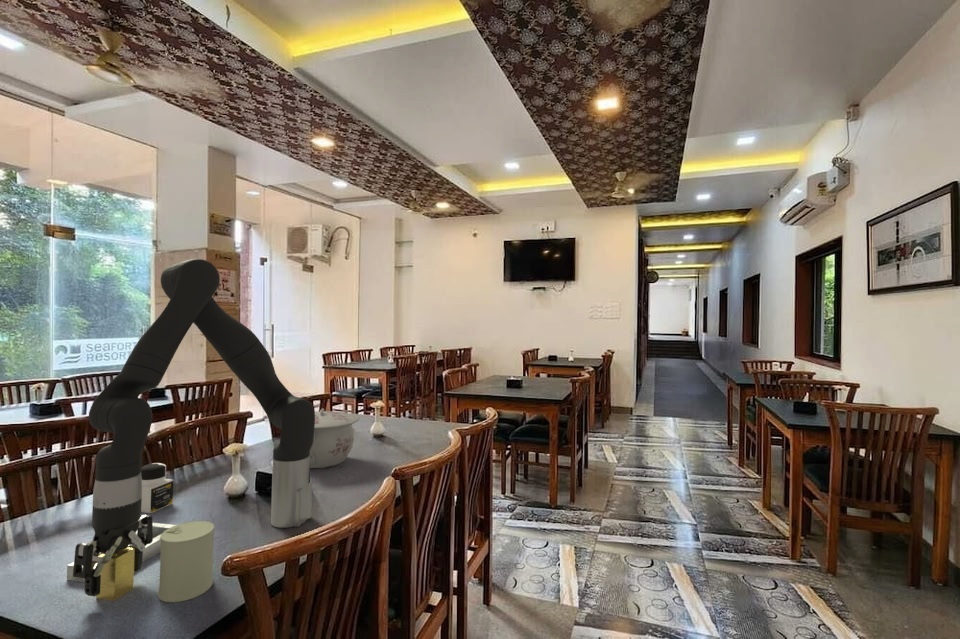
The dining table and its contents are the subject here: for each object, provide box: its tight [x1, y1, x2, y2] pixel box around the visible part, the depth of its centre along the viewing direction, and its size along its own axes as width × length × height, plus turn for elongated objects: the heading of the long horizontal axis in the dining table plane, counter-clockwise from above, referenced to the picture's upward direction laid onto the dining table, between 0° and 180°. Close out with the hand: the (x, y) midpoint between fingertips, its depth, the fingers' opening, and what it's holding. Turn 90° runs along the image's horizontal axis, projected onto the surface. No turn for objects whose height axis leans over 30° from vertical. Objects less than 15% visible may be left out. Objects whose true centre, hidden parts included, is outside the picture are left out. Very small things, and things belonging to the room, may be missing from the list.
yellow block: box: [95, 548, 135, 602], centre depth 88 cm, size 4×4×8 cm
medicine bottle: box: [141, 462, 174, 514], centre depth 128 cm, size 7×7×12 cm
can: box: [157, 520, 215, 603], centre depth 90 cm, size 9×9×12 cm
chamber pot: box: [309, 408, 360, 469], centre depth 170 cm, size 28×28×21 cm
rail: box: [66, 522, 177, 583], centre depth 101 cm, size 9×20×3 cm, turn 172°
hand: (114, 582), depth 88 cm, fingers open, 8 cm apart
